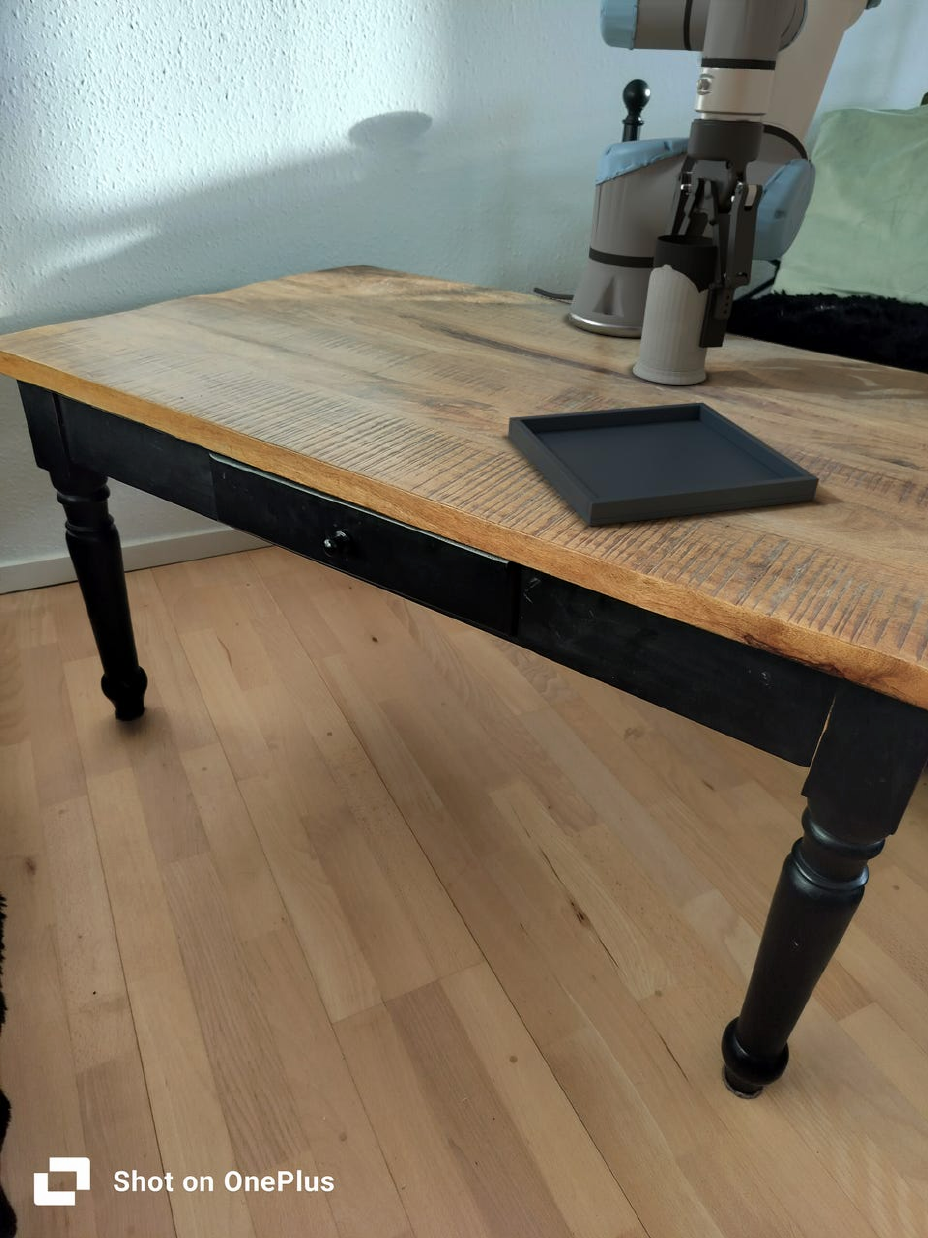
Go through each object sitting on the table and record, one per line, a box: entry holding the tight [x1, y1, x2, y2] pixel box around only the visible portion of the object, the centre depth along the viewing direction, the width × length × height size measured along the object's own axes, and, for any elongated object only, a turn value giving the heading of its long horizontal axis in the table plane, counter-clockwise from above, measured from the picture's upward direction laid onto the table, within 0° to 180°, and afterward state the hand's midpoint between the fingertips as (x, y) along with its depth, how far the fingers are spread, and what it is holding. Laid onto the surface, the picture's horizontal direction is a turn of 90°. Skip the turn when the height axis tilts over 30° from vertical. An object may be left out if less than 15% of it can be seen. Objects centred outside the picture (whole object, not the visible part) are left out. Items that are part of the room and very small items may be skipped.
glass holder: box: [632, 235, 717, 386], centre depth 102 cm, size 9×14×15 cm, turn 134°
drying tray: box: [507, 401, 820, 527], centre depth 80 cm, size 20×22×2 cm
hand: (690, 336), depth 103 cm, fingers open, 8 cm apart
